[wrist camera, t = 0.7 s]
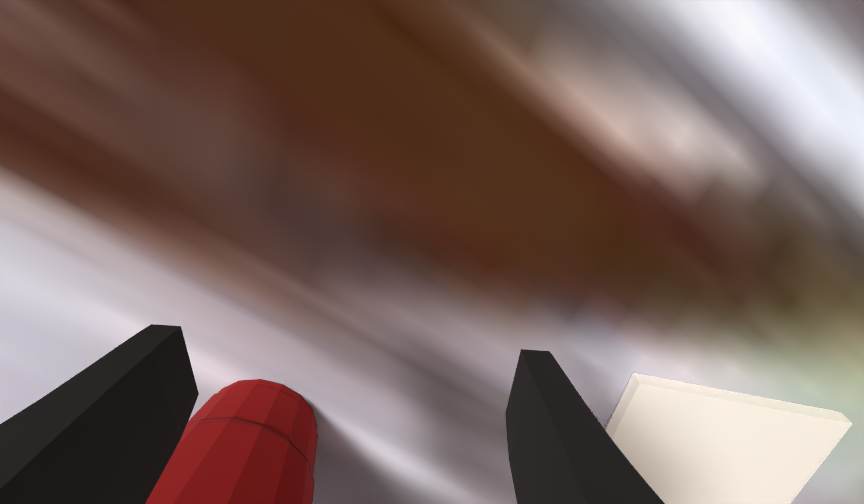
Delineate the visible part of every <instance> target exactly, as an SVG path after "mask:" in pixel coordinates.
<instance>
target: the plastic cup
mask: <svg viewBox="0 0 864 504" xmlns="http://www.w3.org/2000/svg"><path fill="white" fill-rule="evenodd" d="M317 439H318V435H317V424H316V421H315V417H314V413H313V410H312V409H311V408H310V406H309V405H308V404H307V403H306V402H305V400H304V399H303V398H302V397H301V396H300V395H299V394H297V393H295V392H294V391H292V390H290V389H289V388H287V387H285V386H284V385H282V384H278V383H274V382H269V381H265V380H261V379H257V380H244V381H238V382H236V383H233V384H231V385H229V386H227V387H225V388H223V389H221V390H220V392H219V393H217V394H215V395H213V396H212V397H211V398H210V399H209V400H208V401H207V402H206V403H205V404H204V405H203V406H202V408H201V409H200V410H199V411H198V412H197V413H196V414H195V415H194V416H193V417H192V418H191V419H190V420H189V421H188V423H187V425H186V427H185V430H184V432H183V435H182V437H181V439H180V441H179V443H178V445H177V447H176V449H175V451H174V453H173V454H172V456H171V458H170V460H169V462H168V463H167V465H166V467H165V469H164V471H163V473H162V474H161V476H160V478H159V480H158V482H157V483H156V485H155V487H154V489H153V490H152V492H151V494H150V496H149V498H148V499H147V501H146V503H145V504H312V502H313V491H314V478H313V471H314V463H315V455H316V447H317Z"/></svg>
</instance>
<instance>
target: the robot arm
mask: <svg viewBox="0 0 864 504" xmlns="http://www.w3.org/2000/svg"><path fill="white" fill-rule="evenodd" d="M198 395H199V394H198V390H197V386H196V382H195V378H194V375H193V371H192V367H191V363H190V359H189V356H188V352H187V348H186V344H185V340H184V337H183V333H182V329H181V326H168V325H153V324H151V325H150V326H148V327H147V328H145V329H143V330H142V331H140V332H139V333H137V334H136V335H134V336H133V337H131V338H130V339H128V340H127V341H125V342H124V343H122V344H121V345H119V346H118V347H116V348H115V349H114V350H112V351H111V352H109V353H108V354H106V355H105V356H103V357H102V358H100V359H99V360H98V361H96V362H95V363H93V364H92V365H90V366H89V367H87V368H86V369H84V370H83V371H81V372H80V373H78V374H77V375H75V376H74V377H72V378H71V379H70V380H68V381H67V382H65V383H64V384H62V385H61V386H59V387H58V388H56V389H55V390H53V391H52V392H50V393H49V394H47V395H46V396H44V397H43V398H41V399H40V400H38V401H37V402H35V403H33V404H32V405H30V406H29V407H27V408H25V409H24V410H22V411H21V412H19V413H18V414H16V415H14V416H13V417H11V418H10V419H8V420H6V421H5V422H3V423H2V424H0V504H145V503H146V501H147V499H148V498H149V496H150V494H151V492H152V490H153V489H154V487H155V485H156V483H157V482H158V480H159V478H160V476H161V474H162V473H163V471H164V469H165V467H166V465H167V463H168V462H169V460H170V458H171V456H172V454H173V453H174V451H175V449H176V447H177V445H178V443H179V441H180V439H181V437H182V435H183V432H184V430H185V427H186V425H187V423H188V420H189V418H190V415H191V413H192V410H193V408H194V405H195V402H196V400H197V397H198ZM505 414H506V427H507V441H508V452H509V461H510V467H511V472H512V478H513V483H514V488H515V493H516V499H517V504H665V503H664V502H663V501H662V500H661V499H660V497H659V496H658V495H657V494H656V493H655V492H654V490H653V489H652V488H651V487H650V486H649V485H648V483H647V482H646V481H645V480H644V479H643V477H642V476H641V475H640V474H639V473H638V471H637V470H636V469H635V468H634V466H633V465H632V464H631V463H630V462H629V460H628V459H627V458H626V457H625V455H624V454H623V453H622V452H621V450H620V449H619V448H618V446H617V445H616V444H615V443H614V441H613V440H612V439H611V437H610V436H609V435H608V433H607V432H606V431H605V429H604V428H603V427H602V425H601V424H600V423H599V421H598V420H597V419H596V417H595V416H594V415H593V413H592V412H591V410H590V409H589V408H588V406H587V405H586V403H585V402H584V401H583V399H582V398H581V396H580V395H579V393H578V392H577V391H576V389H575V388H574V386H573V385H572V383H571V382H570V380H569V379H568V377H567V376H566V374H565V373H564V371H563V370H562V369H561V367H560V366H559V364H558V363H557V361H556V360H555V358H554V357H553V355H552V354H551V353H550V352H549V351H537V350H522V349H521V352H520V356H519V360H518V364H517V368H516V372H515V377H514V381H513V385H512V389H511V393H510V397H509V401H508V405H507V409H506V413H505Z"/></svg>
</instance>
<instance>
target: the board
mask: <svg viewBox="0 0 864 504" xmlns="http://www.w3.org/2000/svg"><path fill="white" fill-rule="evenodd" d="M851 425H852V423H851V422H850V421H849V420H848V419H847V418H846V417H845V416H844V415H843V414H842V413H841V412H838V411H833V410H828V409H822V408H817V407H812V406H807V405H801V404H796V403H791V402H786V401H780V400H775V399H770V398H764V397H759V396H754V395H749V394H743V393H738V392H733V391H728V390H722V389H717V388H712V387H706V386H701V385H696V384H691V383H685V382H680V381H675V380H669V379H664V378H659V377H654V376H648V375H643V374H638V373H633V374H632V376H631V378H630V380H629V382H628V384H627V386H626V389H625V391H624V393H623V395H622V397H621V399H620V401H619V403H618V405H617V407H616V409H615V411H614V413H613V415H612V417H611V419H610V421H609V423H608V425H607V427H606V429H605V431H606V432H607V433H608V435H609V436H610V437H611V439H612V440H613V441H614V443H615V444H616V445H617V446H618V448H619V449H620V450H621V452H622V453H623V454H624V455H625V457H626V458H627V459H628V460H629V462H630V463H631V464H632V465H633V466H634V468H635V469H636V470H637V471H638V473H639V474H640V475H641V476H642V477H643V479H644V480H645V481H646V482H647V483H648V485H649V486H650V487H651V488H652V489H653V490H654V492H655V493H656V494H657V495H658V496H659V497H660V499H661V500H662V501H663V502H664V503H665V504H790V503H791V502H792V501H793V499H794V498H795V497H796V496H797V494H798V493H799V492H800V490H801V489H802V488H803V487H804V485H805V484H806V483H807V481H808V480H809V479H810V478H811V476H812V475H813V474H814V472H815V471H816V470H817V469H818V467H819V466H820V465H821V463H822V462H823V461H824V460H825V458H826V457H827V456H828V454H829V453H830V452H831V451H832V449H833V448H834V447H835V445H836V444H837V443H838V442H839V440H840V439H841V438H842V437H843V435H844V434H845V433H846V431H847V430H848V429H849V428H850V426H851Z"/></svg>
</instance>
